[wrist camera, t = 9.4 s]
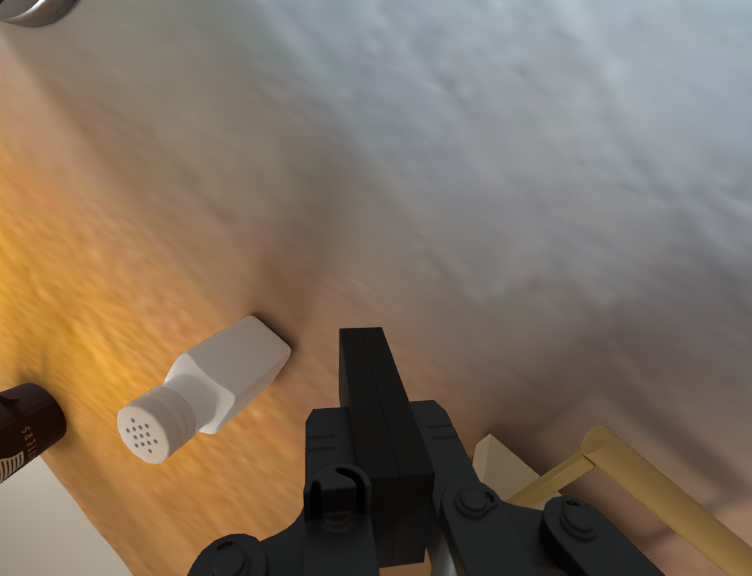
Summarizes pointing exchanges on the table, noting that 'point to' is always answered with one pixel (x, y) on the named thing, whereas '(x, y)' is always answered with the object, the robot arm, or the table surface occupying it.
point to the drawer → (629, 469)
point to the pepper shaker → (203, 389)
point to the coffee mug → (27, 426)
